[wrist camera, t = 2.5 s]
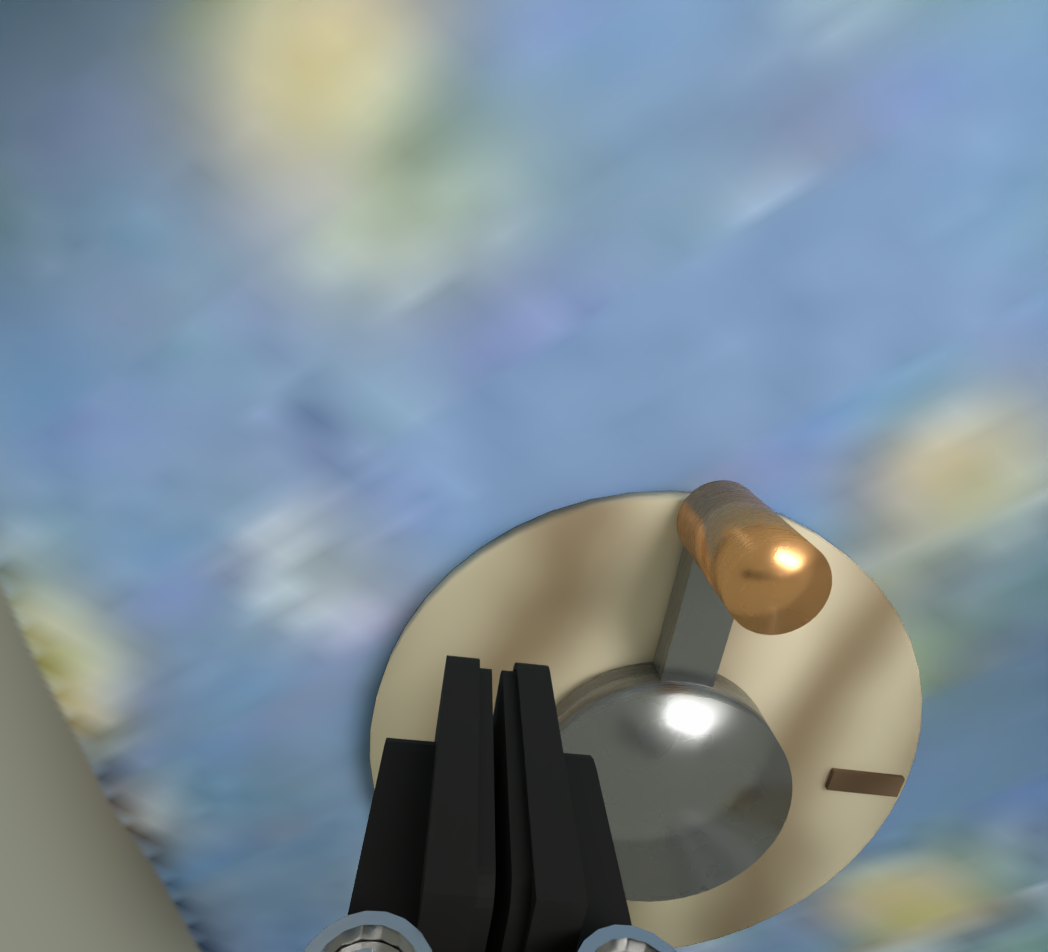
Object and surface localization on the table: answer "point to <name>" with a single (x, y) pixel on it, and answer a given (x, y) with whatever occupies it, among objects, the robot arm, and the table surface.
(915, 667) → the dial plate
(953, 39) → the table surface
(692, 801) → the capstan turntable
